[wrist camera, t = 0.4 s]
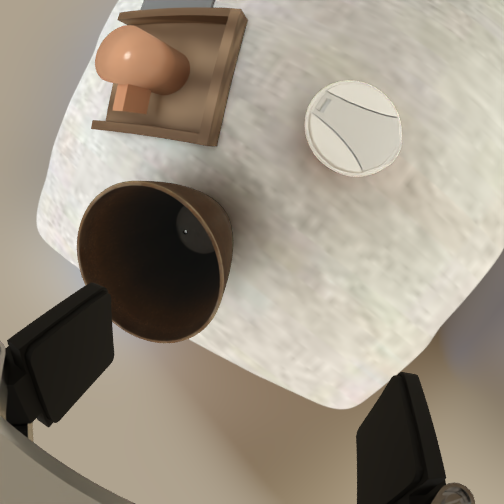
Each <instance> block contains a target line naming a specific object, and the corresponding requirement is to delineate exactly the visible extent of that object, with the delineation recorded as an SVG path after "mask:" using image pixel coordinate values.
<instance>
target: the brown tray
mask: <svg viewBox="0 0 504 504" xmlns="http://www.w3.org/2000/svg"><path fill="white" fill-rule="evenodd" d="M118 20H119V21H121V22H123V23H125V24H127V25H132V26H136V27H138V28H140V29H142V30H144V31H145V32H147V33H149V34H151V35H152V36H154V37H156V38H158V39H159V40H161V41H163V42H164V43H166V44H168V45H169V46H171V47H173V48H174V49H176V50H178V51H179V52H181V53H182V54H184V55H185V56H186V57H187V59H188V60H189V63H190V74H189V77H188V79H187V81H186V83H185V84H184V85H183V87H182V88H180V89H179V90H178V91H176V92H175V93H172V94H170V95H158V94H155V93H151V95H150V100H149V105H148V109H147V114H138V113H130V112H122V111H113V105H114V100H115V95H116V90H117V86H118V84H116V83H113V87H112V91H111V96H110V101H109V106H108V111H107V116H106V121H96V120H93V121H92V127H91V129H97V130H107V131H115V132H123V133H131V134H139V135H146V136H152V137H159V138H165V139H171V140H177V141H183V142H189V143H194V144H200V145H205V146H217V143H218V138H219V133H220V129H221V124H222V120H223V115H224V111H225V107H226V103H227V98H228V94H229V90H230V86H231V82H232V78H233V74H234V70H235V66H236V62H237V58H238V54H239V50H240V46H241V43H242V39H243V35H244V32H245V28H246V24H247V21H248V20H247V18H246V17H245V15H244V13H243V12H242V10H241V9H233V8H207V7H187V8H162V9H148V10H138V11H129V12H121V13H120V14H119V17H118Z"/></svg>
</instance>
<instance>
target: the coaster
mask: <svg viewBox="0 0 504 504" xmlns="http://www.w3.org/2000/svg"><path fill="white" fill-rule="evenodd" d="M214 1H215V0H144V2H143V4H142V7H141V10H148V9H162V8H187V7H207V8H212V7H213V4H214Z"/></svg>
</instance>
